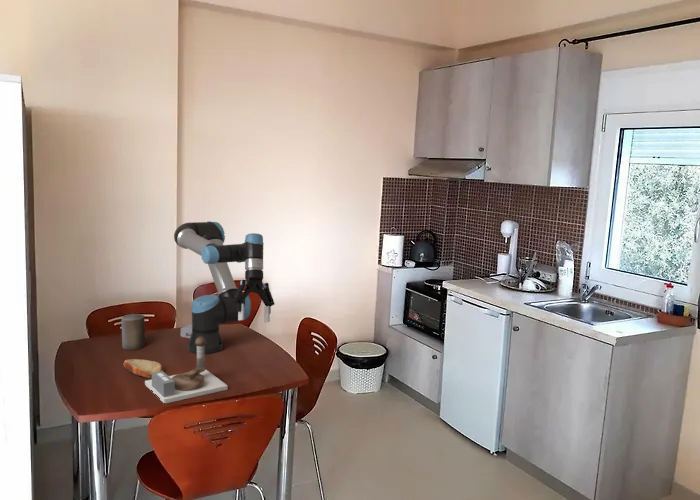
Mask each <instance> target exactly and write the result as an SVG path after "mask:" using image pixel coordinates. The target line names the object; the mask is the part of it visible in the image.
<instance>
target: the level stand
mask: <svg viewBox="0 0 700 500" xmlns="http://www.w3.org/2000/svg"><path fill="white" fill-rule="evenodd" d="M178 374H179V373H177V374H172V375H168V374H166V372H165V371H164V372H163V371H160V372H154V373H152V378H151V379H147V380H144V385H145V386H146V388H148V389H149V390H150V391H151V390H152V391H153V392H152V391H151V392H152V393H153V394H154V395H155V394H156V395H157V396H158V397H159V398H160V399H159V398H158V397H157V396H156V395H155V396H156V397H157V398H158V399H159V400H160V402H162V403H163V404H164V403H165V404H170V403H173V402H178V401H183V400H186V399H191V398H196V397H199V396H205V395H208V394H209V395H210V394H214V393H219V392H222V391H223V392H224V391H227V390H229V388H228V387H229V386H228V385H227V383H225V382H223V381H222V380H220V379H219V378H218V377H216V376H215V375H214V374H213V373H211V372H210V371H209V370H207V369H206V370H205V371H204V372H201V373H200V374H201V375H203V376H204V385H203V386H202V387H200V388H197V389H193V390H178V389H175V381H173V380H172V379H171V378H172V377H173V376H175V375H178Z"/></svg>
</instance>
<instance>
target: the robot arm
mask: <svg viewBox="0 0 700 500" xmlns="http://www.w3.org/2000/svg"><path fill="white" fill-rule="evenodd" d="M225 234H226V233H225V230H224V228H223V226H222V224H220V223H219V222H217V221H204V222H203V221H202V222H199V221H198V222H197V221H196V222H194V221H193V222H184V223H182V224H180V225H179V226H178V227H177V228H176V229H175V230H174V234H173V239H174V242H175V244H176V245H177V246H178V247H180V248H182V249H183V250H187V249H188V250H190V251H192V252H193V253H195V254H197V255H199V256H201V260H202V262H203V263H204V264H206V265H208V268H209V270H210V273H211V277H212V280H213V282H214V285H215V288H216V291H217V293H218V294H205V295H200V296H198V297H196V298H194V299H193V300H192V305H191V323H192V334H191V337H190V338H189V340H188V343H187V349H188V351H189V352H191V353H194V354H197V345H196V343H195V341H196V339H197V338H198V337H204V338H205V339H206V344H205V355H207V354H213V353H217V352H221V351H222V350H223V348H224V343H223V340H222V336H221V333H220V325H221V324H228V323H234V322H235V323H236V322H237V323H238V322H240V321H246V320H247V319H248V318H249V317H250V314H251V309H252V304H251V299H250V297H249V294H250V293H253V294H254V293H255V294H257V295H258V296H259V298H260V299H261V301H262V303H263V304H264V307H263V323H270V321H271V318H270V315H271V308H272V306H274V305H275V301H274V298H273V295H272V293H271V289H270V286H269V285H270V284H269V283H268V282H265V283H264V282H263V279H264V236H263V234H260V233H253V232H252V233H248V234H246V235H245V238H244V242H243V243H236V244H235V243H233V244H224V243H225V240H226V236H225ZM235 262H236V263H238V264H239V263H244V270H245V271H244V279H241V280H239V282H238V286H236V283H235V280H234V278H233V275H232V272H231V269H230V267H229V264H228V263H235ZM245 287H246V288H245Z"/></svg>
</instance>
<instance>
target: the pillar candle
mask: <svg viewBox="0 0 700 500" xmlns="http://www.w3.org/2000/svg"><path fill="white" fill-rule="evenodd" d="M120 319H121V320H120V321H121V345H122V349H124V350H130V351H133V350H140V349H144V348H145V347H146V336H145V333H146V330H145V326H146V325H145V323H146V322H145V321H146V320H145V315H144V314H140V313H132V314H130V313H129V314H126V315H123V316H121V318H120Z"/></svg>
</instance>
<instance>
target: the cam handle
mask: <svg viewBox="0 0 700 500" xmlns="http://www.w3.org/2000/svg"><path fill="white" fill-rule="evenodd" d="M195 343H196V345H197V353H196V367H195V368H193V369H191V370H190V371H188V372H183V373H177V374H178V375H177V374H174V375H175V376H173V377H172V378H171V379H172V380H173V381H175V389H178V390H193V389H197V388H200V387H202V386H203V385H204V376H203V375H201V374H200V373H201V372H204V371H205V370H207V369H206V365H205V364H206V354H205V344H206V339H205V338H204V337H198V338H197V339H196V341H195Z"/></svg>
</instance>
